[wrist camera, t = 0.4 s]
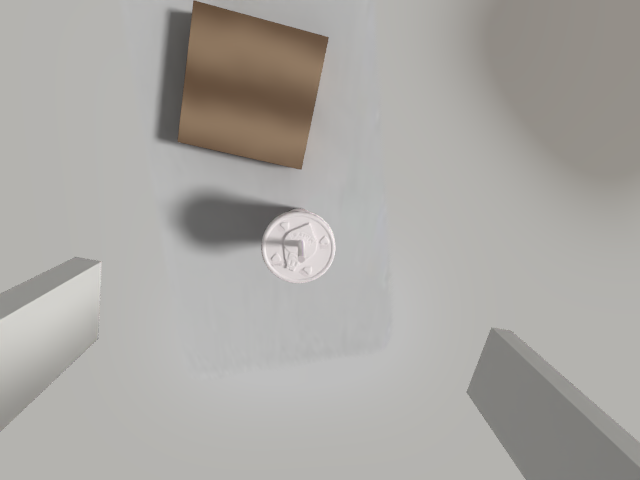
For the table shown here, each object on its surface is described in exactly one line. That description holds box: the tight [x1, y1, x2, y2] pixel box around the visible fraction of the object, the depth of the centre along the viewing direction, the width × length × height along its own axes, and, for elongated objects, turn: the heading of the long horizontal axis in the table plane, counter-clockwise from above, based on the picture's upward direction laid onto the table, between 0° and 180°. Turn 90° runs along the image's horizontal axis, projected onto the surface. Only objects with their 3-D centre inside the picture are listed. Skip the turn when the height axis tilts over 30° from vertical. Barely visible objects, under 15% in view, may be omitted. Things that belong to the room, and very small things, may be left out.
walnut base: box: [178, 1, 329, 169], centre depth 32 cm, size 12×12×3 cm
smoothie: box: [261, 208, 335, 283], centre depth 31 cm, size 6×6×14 cm
